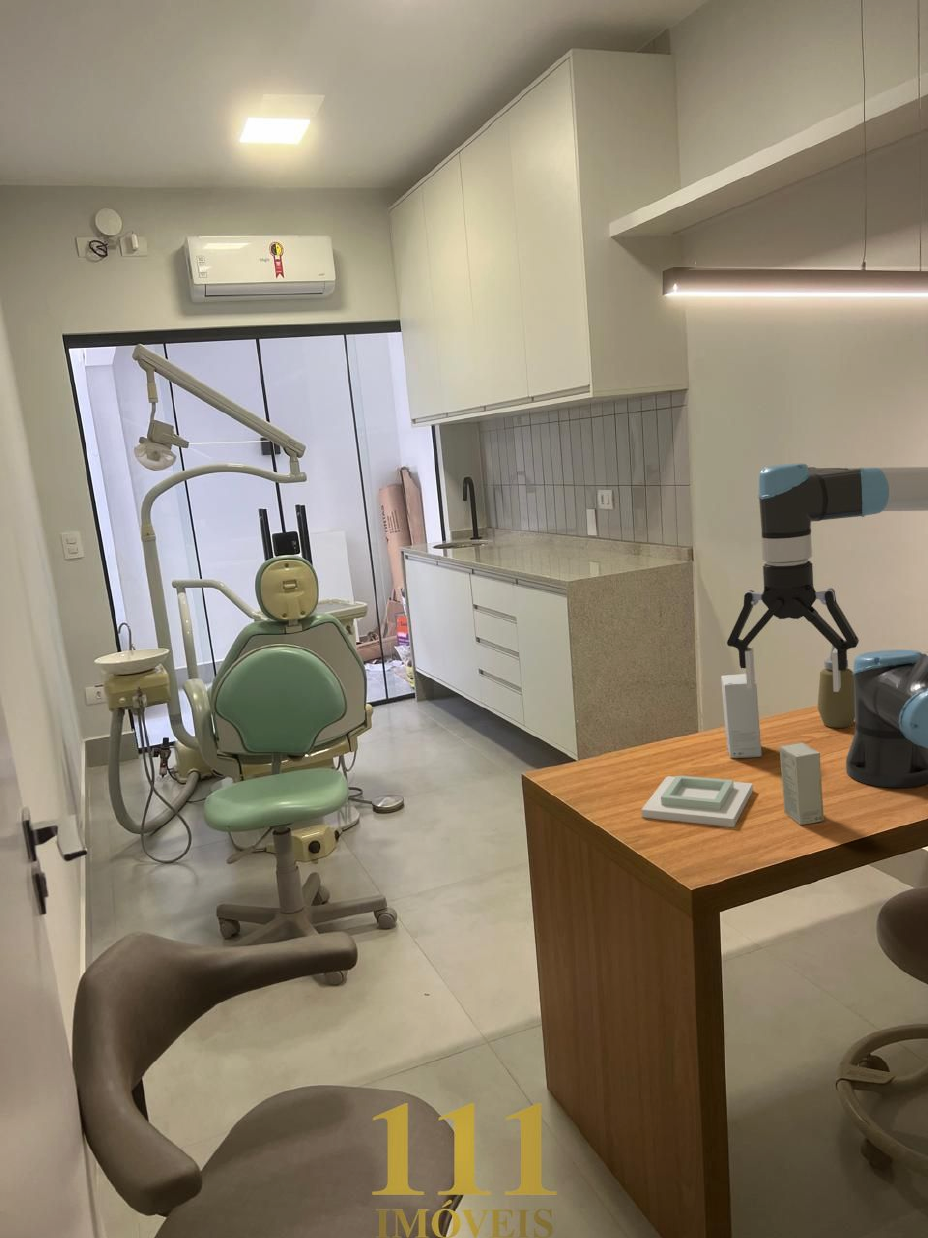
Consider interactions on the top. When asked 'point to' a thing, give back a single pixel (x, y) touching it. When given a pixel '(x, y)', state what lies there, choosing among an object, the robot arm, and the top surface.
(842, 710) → the squeeze bottle
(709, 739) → the top surface
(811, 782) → the skincare box
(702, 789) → the collar plate
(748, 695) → the skincare box
